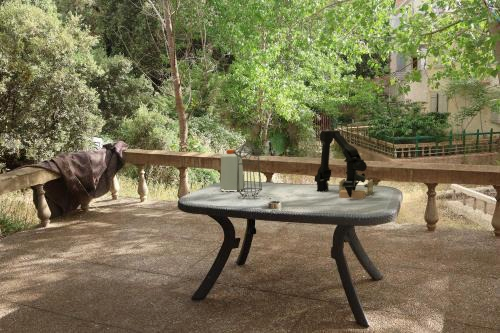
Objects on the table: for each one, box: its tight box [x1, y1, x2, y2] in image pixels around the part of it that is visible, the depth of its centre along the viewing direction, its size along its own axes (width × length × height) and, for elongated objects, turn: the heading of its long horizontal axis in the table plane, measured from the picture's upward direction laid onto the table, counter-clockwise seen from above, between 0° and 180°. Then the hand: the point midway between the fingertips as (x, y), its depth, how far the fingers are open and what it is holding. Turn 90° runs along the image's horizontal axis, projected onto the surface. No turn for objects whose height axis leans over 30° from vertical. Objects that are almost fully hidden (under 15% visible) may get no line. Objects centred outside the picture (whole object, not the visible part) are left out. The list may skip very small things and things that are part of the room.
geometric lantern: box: [233, 141, 263, 198], centre depth 289 cm, size 16×16×35 cm
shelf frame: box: [338, 178, 374, 196], centre depth 288 cm, size 18×12×8 cm, turn 66°
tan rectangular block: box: [338, 189, 366, 200], centre depth 276 cm, size 14×6×4 cm, turn 65°
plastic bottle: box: [220, 149, 246, 190], centre depth 317 cm, size 15×15×28 cm
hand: (351, 195), depth 276 cm, fingers open, 9 cm apart
